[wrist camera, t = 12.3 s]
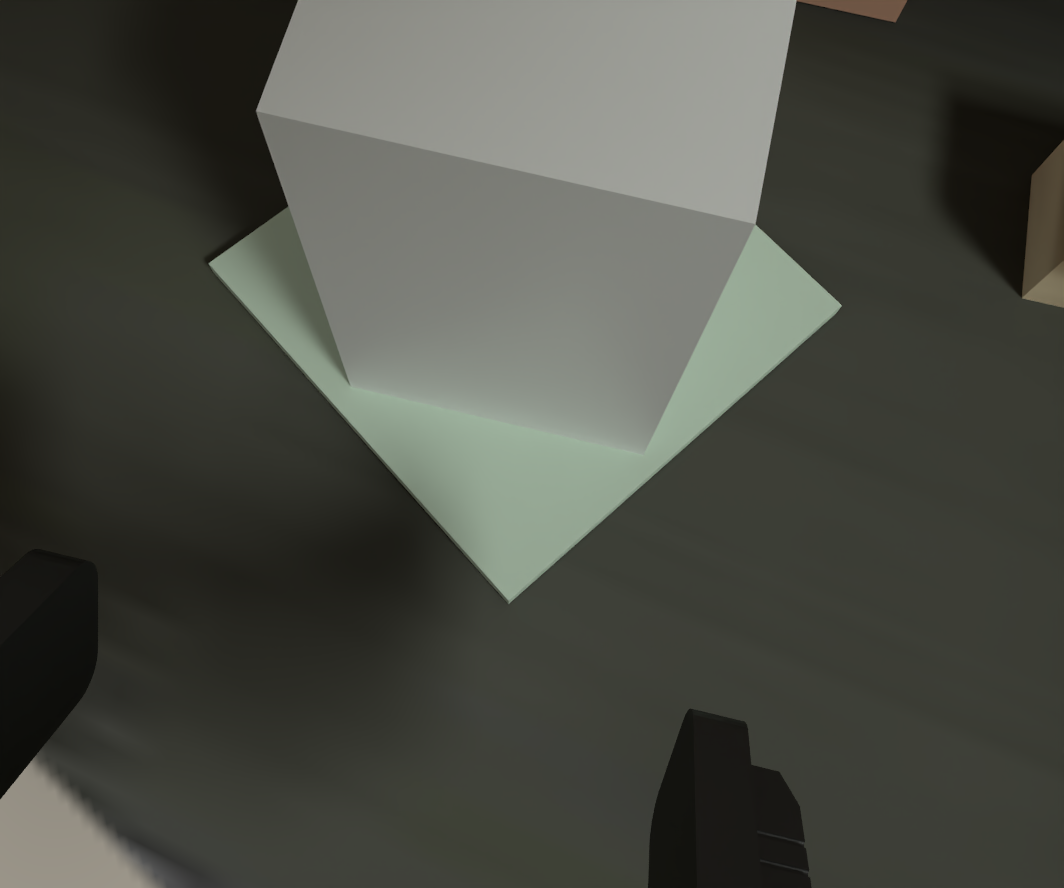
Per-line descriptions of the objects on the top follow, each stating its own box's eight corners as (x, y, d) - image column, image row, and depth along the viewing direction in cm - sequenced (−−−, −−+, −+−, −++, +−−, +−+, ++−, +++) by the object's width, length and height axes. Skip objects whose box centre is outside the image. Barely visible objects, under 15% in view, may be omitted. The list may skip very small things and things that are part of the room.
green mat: (836, 313, 23) (841, 305, 23) (508, 604, 21) (508, 600, 20) (541, 36, 25) (542, 25, 25) (213, 271, 23) (208, 263, 22)
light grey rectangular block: (696, 199, 23) (825, -157, 15) (643, 455, 21) (755, 223, 13) (428, 138, 24) (393, -250, 15) (350, 386, 22) (255, 110, 13)
